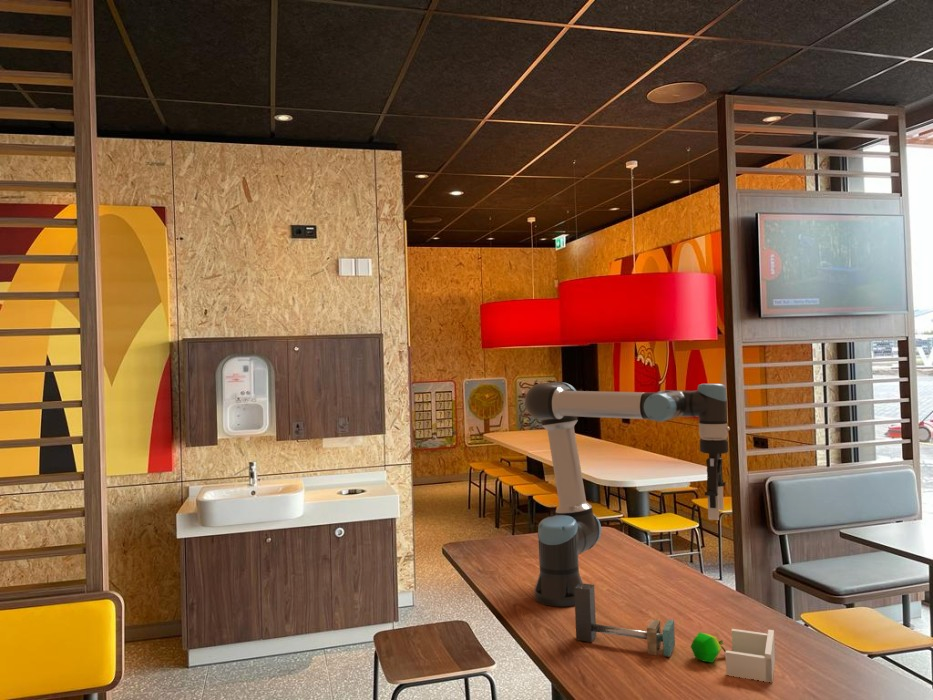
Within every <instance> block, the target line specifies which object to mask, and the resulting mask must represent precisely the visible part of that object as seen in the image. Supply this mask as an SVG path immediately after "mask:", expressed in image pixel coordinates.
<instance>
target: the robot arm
mask: <svg viewBox="0 0 933 700" xmlns="http://www.w3.org/2000/svg"><path fill="white" fill-rule="evenodd" d="M726 389H727V388H726V386H725V385H724V384H723V383H701V384H698V385H697V390H671V389H669V390H668V389H667V390H666V389H665V390H659V391H657V392H650V391H648V392H643V391H642V392H641V391H639V392H638V391H635V392H634V391H602V390H601V391H597V390H596V391H595V390H594V391H593V390H591V391H589V390H585V391H584V390H577V389H576V388H575V387H574V386H573V385H571V384H569V383H567V382H562V381H553V382H540V383H537V384H535V385H533V386H532V387H531V386H530V388H529V390H527V393H526V394H525V396H524V397H525V398H524V406H525V409H526V410H527V413H528V415H530V416H531V417H533V418H534V419H535V420H540V422H541V423H540V424H541V427H542V428H544V430H546V432H547V437H548V442H549V449H550V454H551V460H552V467H553V472H554V479H555V480H554V481H555V484H556V485H555V486H556V492H557V498H558V507H557V508H556V509H555V515H553V516H547V517H545V518H543V519H542V520H540V522H539V523H538V528H537V529H538V530H537V531H538V532H537V539H538V558H539V559H538V560H539V561H538V562H539V574H538V578H537V580H536V585H535V589H534V599H535V600H536V602H537V603H539V604H542V605H545V606H549V607H556V608H557V607H558V608H559V607H562V608H563V607H573V606H574V607H575V595H574V587H575V586H576V585H577V584H578V583H583V580H582V577H581V574H580V569H579V564H580V563H579V555H581V554H582V553H584V552H586V551H588V550H591V549H592V548H593V547H594V546H595V545H596V544H597V542H599V540H600V539H601V535H602V534H601V533H602V525H601V522H600V520H599V518H598V517H597V516H596V515H595V513H594V511H593V506H592V505H591V504H590V503H588V501H587V499H586V498H587V497H586V492H585V491H586V490H585V486H584V481H583V480H584V479H583V474H582V468H581V462H580V456H579V450H578V444H577V438H576V432H575V425H576V424H577V422H578V421H579V420H578V417H584V418H606V419H607V418H610V419H632V420H633V419H634V420H650V421H655V422H665V421H666V422H667V421H668V420H671V419H675V418H681V417H682V418H684V417H686V418H691V417H692V418H698V434H699V435H698V436H699V437H700V440H699V451H700V452H701V453H702V454H708V458H707V459H706V461H705V462H706V475H707V476H706V491H704V496H707V516H708V517H707V518H708V520H710V521H719V520H720V510H722V511H723V510H724V491H723V490H724V487H726V482H724V479H723V478H724V477H723V458H722V454H728V452H729V440H728V439H727V438H728V436H729V435H728V431H730V430H731V428H730V426H728V398H727V390H726Z"/></svg>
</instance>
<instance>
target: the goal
mask: <svg viewBox="0 0 933 700" xmlns="http://www.w3.org/2000/svg"><path fill="white" fill-rule="evenodd" d="M775 641H776V640H775V630H774V629H767V633H765V632H759V631H752V630H744V629H738V628H731V646H732V647H731V650H726V649H725V650H726V652H724V653H725V672H726V676H727V675H729V676H728V677H733V676H734V677H735V678H739V677H740V678H741V679H745V678H746V680H751V679H754V680H753V681H757V680H759V682H763V681H764V683H769V682H770V683H769V684H772V683H773V680H774V679H773V678H774V672H775V671H774V670H775V664H776V663H775V662H776V648H775V647H776V644H775V643H776V642H775ZM734 677H733V678H734Z"/></svg>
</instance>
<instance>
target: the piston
mask: <svg viewBox="0 0 933 700" xmlns="http://www.w3.org/2000/svg"><path fill="white" fill-rule="evenodd" d="M574 595H575V605H574V614H575V616H574V618H575V639H576V641H582V642H588V643H593V641H594V640H595V639H596V637H597V633H601V634H606V635H607V634H608V635H615V636H622V637H626V638H627V637H628V638H635V639H641V640H647V630H646V631H645V630H638V629H631V628H625V627H619V626H618V627H617V626H613V625H605V624H599V623H596V622H597V621H596V619H597V618H596V596H595V584H591V583H584V582H582V583H578V584H577V585H576V586H575V587H574ZM661 632H662V633H661V634H660V633H657V641H659V642H661V643H662V646H663V647H662V649H663V652H662V653H663V656H664V657H668V658H669V657H671V655H672V653H673V650H674V648H675V647H676V643H675V642H676V640H675V639H676V637H675V636H676V635H675V620H674V619H667V621H666V622H665V624H664V626H663V628H662V631H661Z"/></svg>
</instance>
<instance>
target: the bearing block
mask: <svg viewBox="0 0 933 700" xmlns="http://www.w3.org/2000/svg"><path fill="white" fill-rule="evenodd" d="M646 632H647V655H653V656H657V655H658V653H659V652H658V649H661V647H662V642H659V641H657V633H660V634H662V633H661V632H662V631H661V620H657V619H650V622H649V623H648V625H647V627H646Z"/></svg>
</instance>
